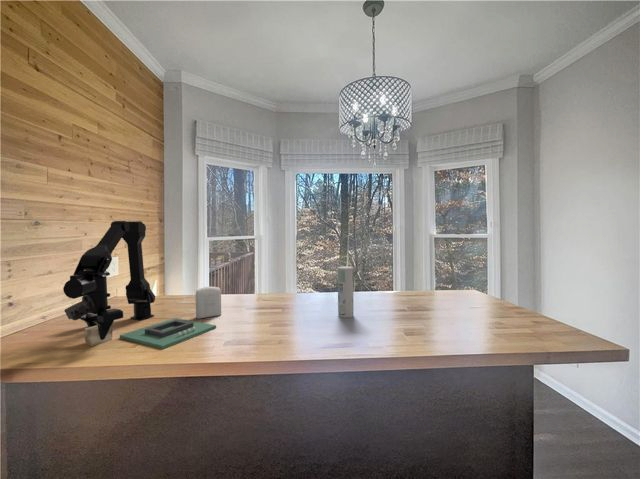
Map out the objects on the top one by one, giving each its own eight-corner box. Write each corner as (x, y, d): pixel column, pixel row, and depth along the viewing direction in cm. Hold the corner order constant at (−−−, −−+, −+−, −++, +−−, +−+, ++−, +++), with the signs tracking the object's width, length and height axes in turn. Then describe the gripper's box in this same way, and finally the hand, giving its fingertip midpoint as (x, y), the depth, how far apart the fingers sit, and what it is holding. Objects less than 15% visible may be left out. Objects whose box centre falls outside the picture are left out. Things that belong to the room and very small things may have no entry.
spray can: (356, 316, 131) (356, 267, 130) (342, 318, 129) (341, 268, 128) (349, 312, 137) (349, 265, 136) (335, 314, 135) (335, 266, 134)
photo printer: (219, 313, 139) (219, 284, 138) (222, 315, 135) (222, 286, 134) (194, 317, 133) (193, 287, 132) (197, 319, 129) (196, 289, 129)
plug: (85, 343, 104) (84, 328, 104) (107, 337, 110) (106, 322, 110) (92, 345, 102) (91, 330, 102) (114, 338, 108) (113, 324, 108)
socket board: (119, 338, 109) (119, 330, 109) (175, 320, 129) (175, 314, 128) (163, 349, 99) (162, 341, 99) (216, 328, 119) (216, 321, 118)
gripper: (52, 293, 102) (54, 342, 103) (85, 299, 94) (87, 352, 95) (90, 287, 112) (92, 331, 113) (123, 292, 104) (125, 339, 104)
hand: (98, 338), depth 106 cm, fingers closed on plug, 4 cm apart
